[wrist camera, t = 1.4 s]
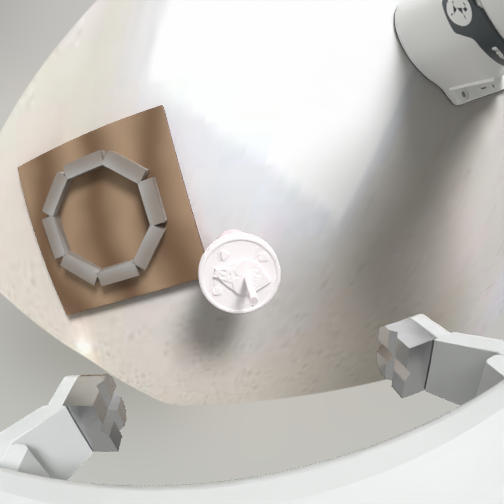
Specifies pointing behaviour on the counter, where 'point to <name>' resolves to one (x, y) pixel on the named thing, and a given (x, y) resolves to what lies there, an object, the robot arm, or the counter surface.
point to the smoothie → (239, 272)
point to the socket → (113, 213)
